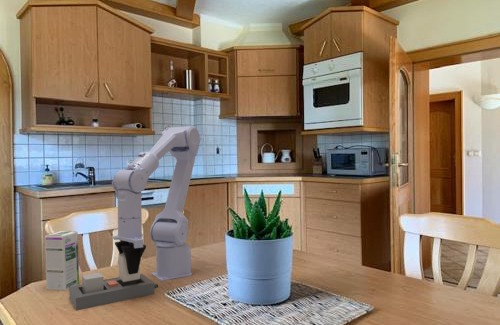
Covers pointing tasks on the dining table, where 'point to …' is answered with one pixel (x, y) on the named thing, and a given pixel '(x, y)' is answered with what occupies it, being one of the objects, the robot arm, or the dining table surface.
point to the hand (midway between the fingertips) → (130, 271)
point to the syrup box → (62, 260)
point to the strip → (108, 290)
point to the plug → (126, 270)
